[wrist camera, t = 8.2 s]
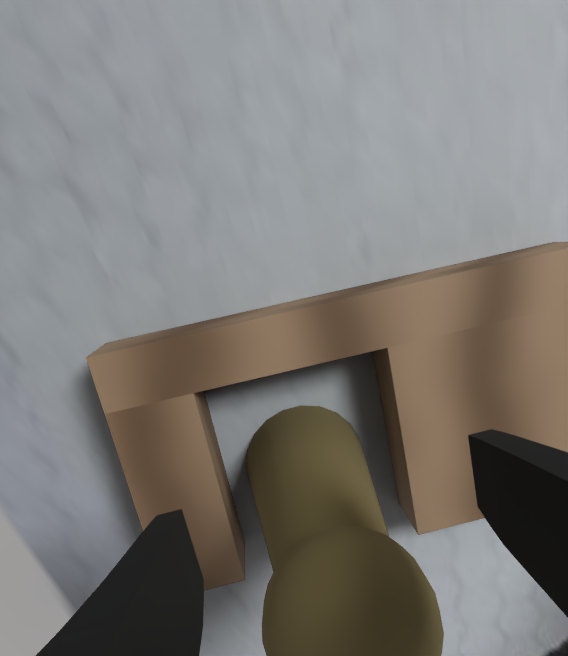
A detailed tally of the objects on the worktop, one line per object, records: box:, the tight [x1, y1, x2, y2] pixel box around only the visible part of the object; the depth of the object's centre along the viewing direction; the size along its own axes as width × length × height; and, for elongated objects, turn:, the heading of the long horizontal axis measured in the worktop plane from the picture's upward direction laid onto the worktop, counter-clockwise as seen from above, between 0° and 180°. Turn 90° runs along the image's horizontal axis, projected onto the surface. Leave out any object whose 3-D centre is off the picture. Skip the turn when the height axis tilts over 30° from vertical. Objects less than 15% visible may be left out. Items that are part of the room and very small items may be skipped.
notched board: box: [86, 242, 568, 590], centre depth 20 cm, size 22×12×2 cm, turn 102°
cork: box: [246, 406, 444, 656], centre depth 16 cm, size 6×6×11 cm
